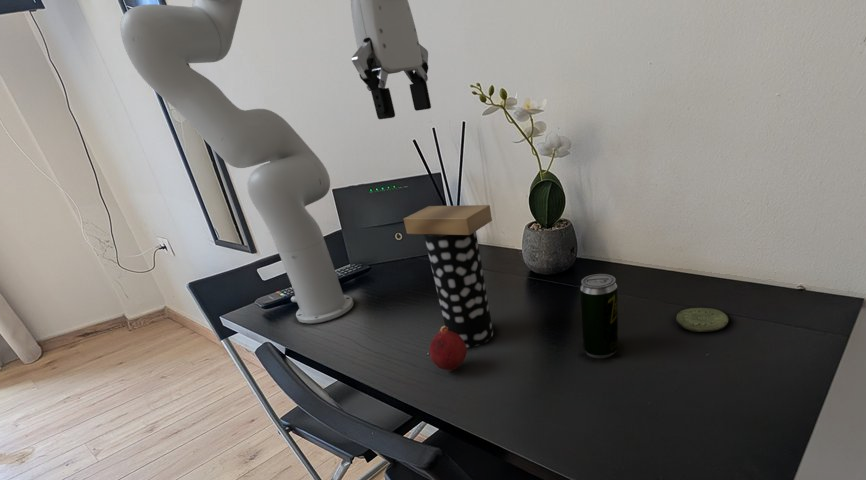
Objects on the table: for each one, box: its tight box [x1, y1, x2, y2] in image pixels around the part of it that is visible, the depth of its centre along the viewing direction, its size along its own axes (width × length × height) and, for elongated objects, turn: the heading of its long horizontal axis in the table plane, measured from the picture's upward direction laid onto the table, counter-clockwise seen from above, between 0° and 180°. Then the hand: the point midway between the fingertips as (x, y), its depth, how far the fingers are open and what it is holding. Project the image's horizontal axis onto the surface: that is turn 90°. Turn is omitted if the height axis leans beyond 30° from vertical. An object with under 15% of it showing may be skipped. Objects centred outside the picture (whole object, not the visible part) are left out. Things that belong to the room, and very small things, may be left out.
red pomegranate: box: [429, 325, 468, 372], centre depth 74 cm, size 6×6×8 cm
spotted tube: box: [423, 231, 494, 349], centre depth 80 cm, size 8×8×20 cm
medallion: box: [675, 307, 729, 333], centre depth 77 cm, size 8×8×1 cm
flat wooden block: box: [403, 204, 493, 235], centre depth 74 cm, size 12×7×2 cm, turn 61°
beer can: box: [579, 273, 619, 359], centre depth 72 cm, size 5×5×12 cm
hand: (405, 113), depth 77 cm, fingers open, 9 cm apart
